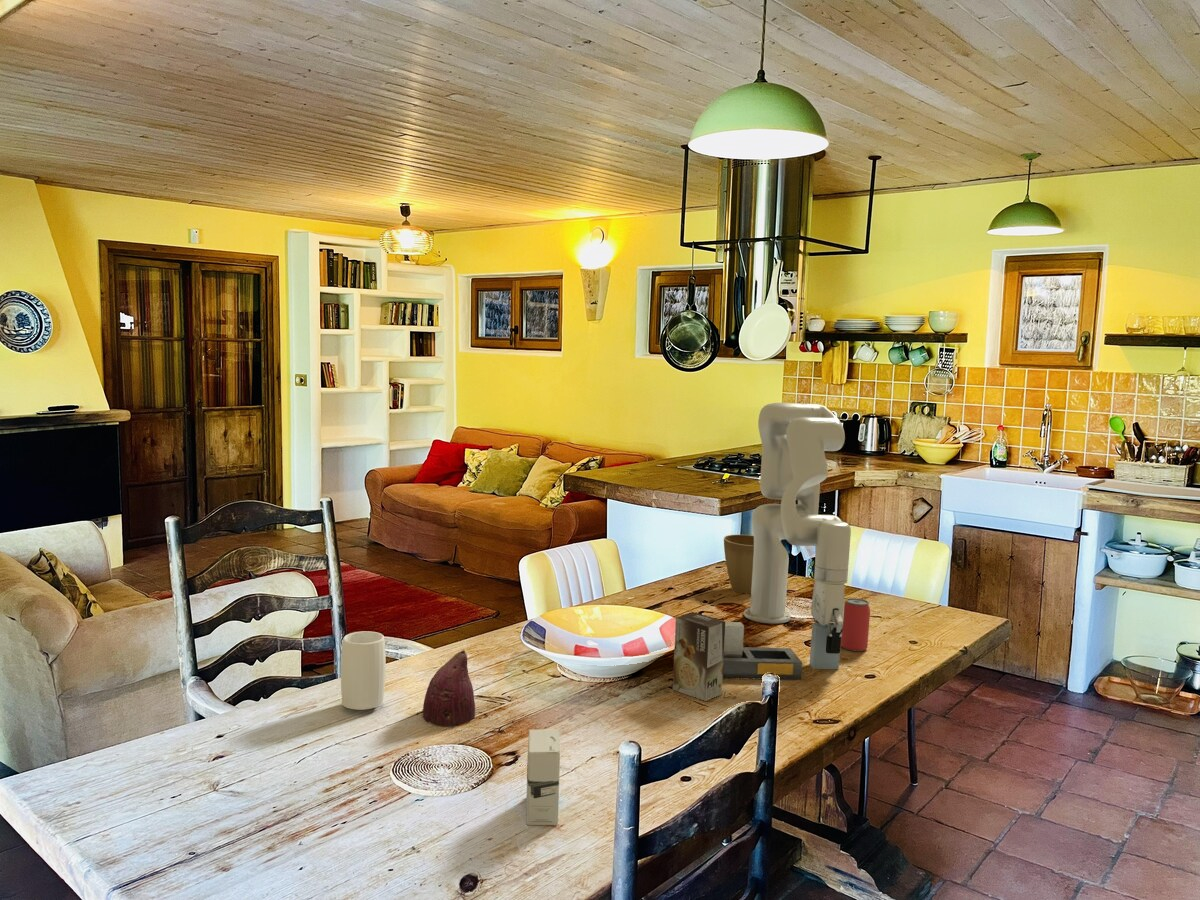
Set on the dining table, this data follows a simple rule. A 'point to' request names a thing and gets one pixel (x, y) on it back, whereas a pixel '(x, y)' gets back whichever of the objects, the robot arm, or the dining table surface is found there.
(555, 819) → the ink box
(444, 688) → the vegetable
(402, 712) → the dining table surface
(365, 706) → the cup
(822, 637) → the block
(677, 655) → the coffee box
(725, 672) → the rack
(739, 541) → the plant pot
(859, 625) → the beer can
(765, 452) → the robot arm
